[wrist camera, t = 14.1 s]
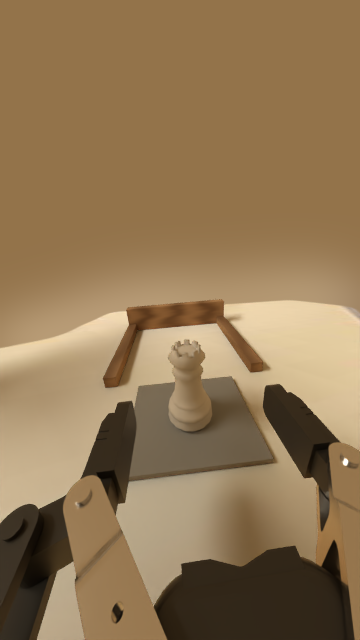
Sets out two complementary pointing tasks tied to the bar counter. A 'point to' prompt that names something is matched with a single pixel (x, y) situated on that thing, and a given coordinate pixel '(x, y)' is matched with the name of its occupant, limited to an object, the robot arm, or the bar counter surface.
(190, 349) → the rook chess piece
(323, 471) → the robot arm
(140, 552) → the bar counter surface
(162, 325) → the walnut lane
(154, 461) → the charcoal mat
